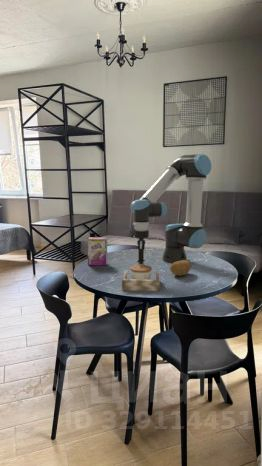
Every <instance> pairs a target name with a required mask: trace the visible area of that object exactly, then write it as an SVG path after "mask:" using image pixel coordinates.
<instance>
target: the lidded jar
mask: <svg viewBox="0 0 262 466" xmlns="http://www.w3.org/2000/svg"><path fill="white" fill-rule="evenodd" d="M129 269H130V277H131V279H136V280H151V277H152V274H153V273H152V271H153V270H152V269H153V267H152V266H151V265H147V264H144V265H142V264H140V265H138V264H134V265H132V266H130V268H129Z"/></svg>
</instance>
